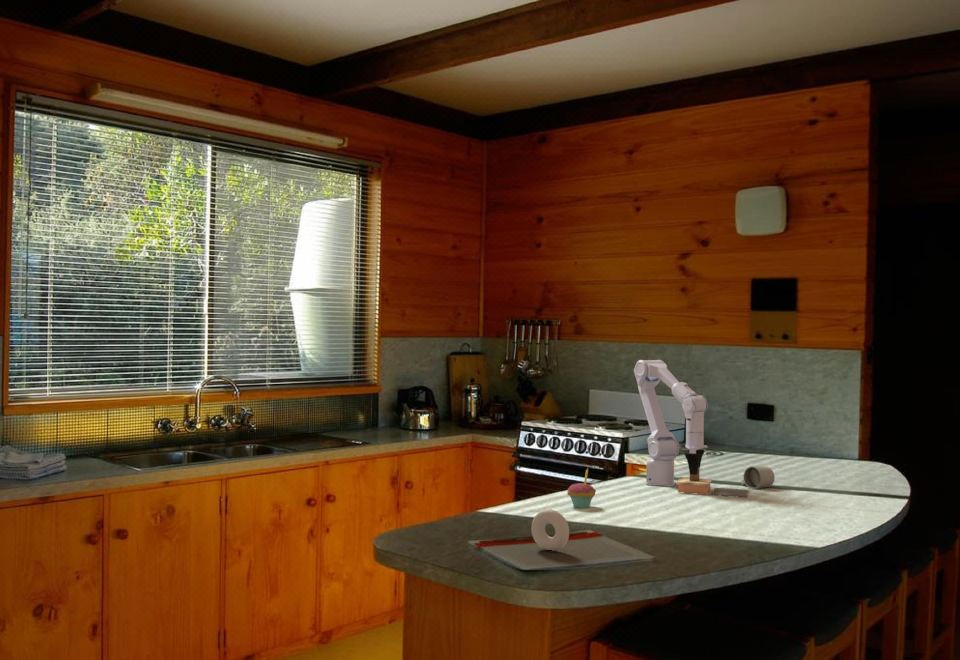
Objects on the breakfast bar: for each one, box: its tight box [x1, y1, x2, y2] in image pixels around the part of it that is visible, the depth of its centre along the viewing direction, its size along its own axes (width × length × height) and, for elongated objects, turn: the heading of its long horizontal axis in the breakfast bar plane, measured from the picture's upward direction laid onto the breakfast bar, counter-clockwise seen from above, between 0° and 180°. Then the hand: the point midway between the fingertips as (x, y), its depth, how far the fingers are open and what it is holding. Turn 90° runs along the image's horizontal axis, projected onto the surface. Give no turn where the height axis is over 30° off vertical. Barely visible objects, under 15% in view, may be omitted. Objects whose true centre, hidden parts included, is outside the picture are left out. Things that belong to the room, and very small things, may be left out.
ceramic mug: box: [741, 465, 775, 490], centre depth 303 cm, size 11×8×8 cm
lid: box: [676, 467, 712, 486], centre depth 294 cm, size 10×10×5 cm
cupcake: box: [566, 467, 597, 509], centre depth 266 cm, size 9×8×12 cm
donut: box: [530, 508, 570, 552], centre depth 211 cm, size 10×4×10 cm, turn 56°
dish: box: [677, 484, 711, 495], centre depth 294 cm, size 10×10×3 cm
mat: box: [711, 487, 749, 498], centre depth 291 cm, size 11×13×1 cm
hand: (694, 472), depth 294 cm, fingers open, 7 cm apart
